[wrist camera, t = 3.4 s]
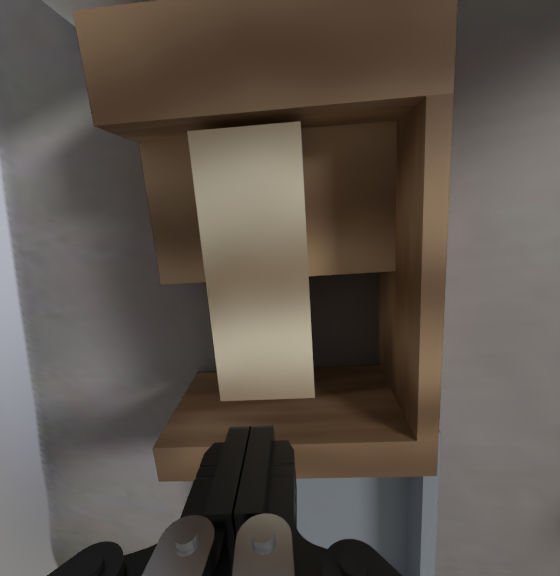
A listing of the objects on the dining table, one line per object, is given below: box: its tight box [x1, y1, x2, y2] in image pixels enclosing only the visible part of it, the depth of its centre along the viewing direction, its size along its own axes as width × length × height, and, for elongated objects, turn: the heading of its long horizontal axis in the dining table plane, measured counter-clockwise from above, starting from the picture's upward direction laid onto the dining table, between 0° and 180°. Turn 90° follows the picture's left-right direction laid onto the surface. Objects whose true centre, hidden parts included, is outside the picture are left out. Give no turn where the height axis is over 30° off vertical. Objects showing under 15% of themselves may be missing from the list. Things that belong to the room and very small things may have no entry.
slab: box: [187, 121, 315, 401], centre depth 17 cm, size 12×4×4 cm, turn 4°
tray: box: [296, 430, 441, 576], centre depth 26 cm, size 18×14×4 cm
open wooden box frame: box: [73, 0, 458, 481], centre depth 19 cm, size 21×14×8 cm, turn 4°
